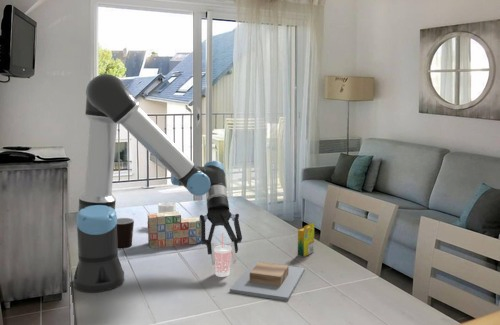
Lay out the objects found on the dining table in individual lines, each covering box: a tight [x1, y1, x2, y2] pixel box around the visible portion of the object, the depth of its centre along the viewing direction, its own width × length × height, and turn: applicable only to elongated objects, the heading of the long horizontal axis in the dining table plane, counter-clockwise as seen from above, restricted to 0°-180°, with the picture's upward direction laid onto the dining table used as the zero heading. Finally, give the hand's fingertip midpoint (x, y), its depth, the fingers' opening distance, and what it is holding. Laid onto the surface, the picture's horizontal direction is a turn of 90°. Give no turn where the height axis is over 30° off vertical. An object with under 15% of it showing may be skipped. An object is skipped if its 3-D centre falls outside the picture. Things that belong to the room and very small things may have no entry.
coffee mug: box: [117, 217, 135, 250], centre depth 179 cm, size 12×9×10 cm
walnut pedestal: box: [250, 261, 289, 286], centre depth 146 cm, size 10×10×4 cm
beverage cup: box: [214, 232, 232, 278], centre depth 150 cm, size 6×6×14 cm
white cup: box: [157, 201, 177, 213], centre depth 205 cm, size 8×8×10 cm
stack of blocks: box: [147, 210, 201, 249], centre depth 182 cm, size 21×6×12 cm, turn 108°
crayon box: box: [297, 222, 315, 258], centre depth 171 cm, size 7×3×12 cm, turn 141°
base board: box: [229, 261, 305, 302], centre depth 146 cm, size 24×18×1 cm
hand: (224, 262), depth 147 cm, fingers closed on beverage cup, 6 cm apart
